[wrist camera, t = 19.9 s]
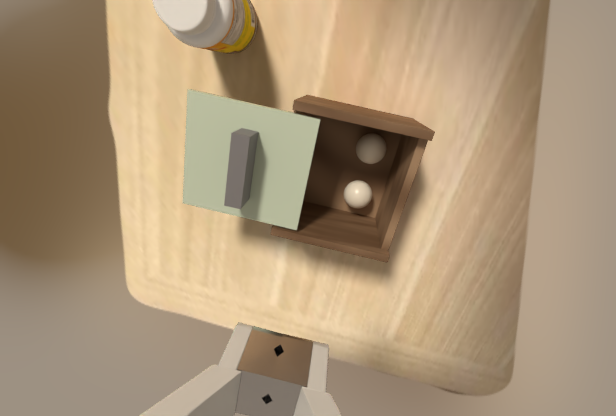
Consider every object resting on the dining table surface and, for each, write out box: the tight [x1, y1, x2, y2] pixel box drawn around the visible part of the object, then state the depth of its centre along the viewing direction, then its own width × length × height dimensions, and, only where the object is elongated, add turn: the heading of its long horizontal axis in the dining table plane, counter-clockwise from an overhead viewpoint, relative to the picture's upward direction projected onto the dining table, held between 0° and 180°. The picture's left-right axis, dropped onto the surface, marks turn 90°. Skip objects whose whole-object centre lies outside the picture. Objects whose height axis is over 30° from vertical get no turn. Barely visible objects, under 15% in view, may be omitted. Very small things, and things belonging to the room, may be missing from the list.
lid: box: [183, 89, 321, 230], centre depth 26 cm, size 10×11×3 cm
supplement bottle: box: [152, 0, 257, 53], centre depth 25 cm, size 6×6×10 cm
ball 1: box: [356, 133, 386, 164], centre depth 31 cm, size 3×3×3 cm
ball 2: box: [344, 180, 372, 209], centre depth 33 cm, size 3×3×3 cm
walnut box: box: [271, 95, 435, 262], centre depth 30 cm, size 12×11×9 cm
